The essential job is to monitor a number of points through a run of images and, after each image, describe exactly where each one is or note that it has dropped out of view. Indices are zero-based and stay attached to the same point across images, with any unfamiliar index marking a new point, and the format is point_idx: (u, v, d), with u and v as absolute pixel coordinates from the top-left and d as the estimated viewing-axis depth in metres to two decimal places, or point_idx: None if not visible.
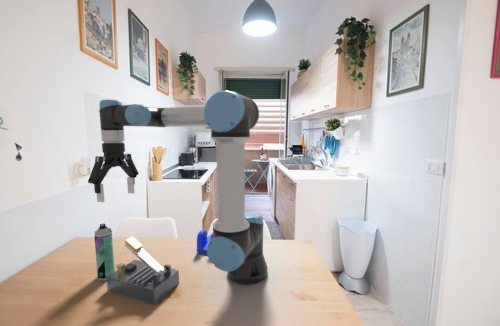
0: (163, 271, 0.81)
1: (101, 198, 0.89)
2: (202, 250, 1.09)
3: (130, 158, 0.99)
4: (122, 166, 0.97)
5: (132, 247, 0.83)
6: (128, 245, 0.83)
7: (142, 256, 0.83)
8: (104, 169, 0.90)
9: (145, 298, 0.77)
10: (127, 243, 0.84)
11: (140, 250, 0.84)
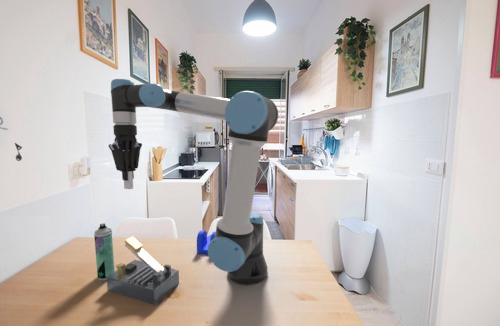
0: (163, 271, 0.81)
1: (128, 185, 0.91)
2: (202, 250, 1.08)
3: (139, 147, 0.94)
4: (128, 152, 0.91)
5: (132, 247, 0.83)
6: (128, 245, 0.83)
7: (142, 256, 0.83)
8: (123, 156, 0.88)
9: (145, 298, 0.77)
10: (127, 243, 0.84)
11: (140, 250, 0.84)
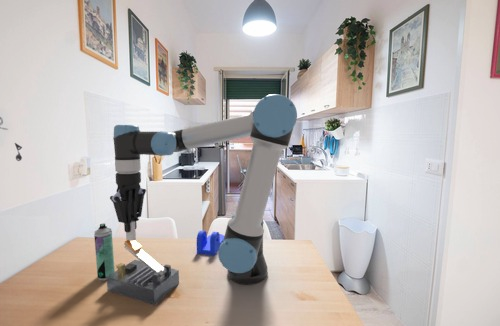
0: (163, 271, 0.81)
1: (131, 237, 0.84)
2: (202, 250, 1.08)
3: (143, 194, 0.87)
4: (131, 201, 0.84)
5: (131, 248, 0.83)
6: (127, 246, 0.84)
7: (142, 257, 0.83)
8: (126, 206, 0.81)
9: (145, 298, 0.77)
10: (126, 244, 0.84)
11: (140, 251, 0.84)
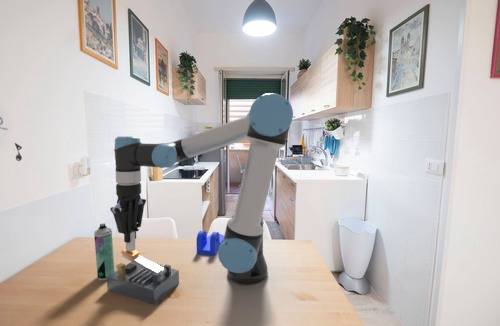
0: (162, 270, 0.81)
1: (130, 247, 0.84)
2: (202, 250, 1.08)
3: (143, 204, 0.88)
4: (131, 211, 0.84)
5: (129, 255, 0.84)
6: (125, 254, 0.84)
7: (140, 261, 0.83)
8: (126, 217, 0.82)
9: (145, 298, 0.77)
10: (124, 253, 0.85)
11: (138, 257, 0.85)
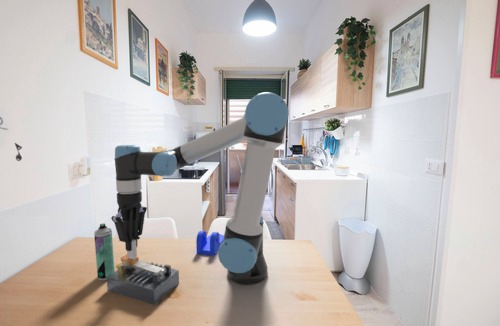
0: (162, 270, 0.81)
1: (132, 255, 0.84)
2: (202, 250, 1.08)
3: (144, 212, 0.88)
4: (132, 220, 0.84)
5: (128, 261, 0.84)
6: (124, 261, 0.85)
7: (139, 265, 0.83)
8: (127, 225, 0.82)
9: (145, 298, 0.77)
10: (123, 260, 0.85)
11: (137, 262, 0.85)
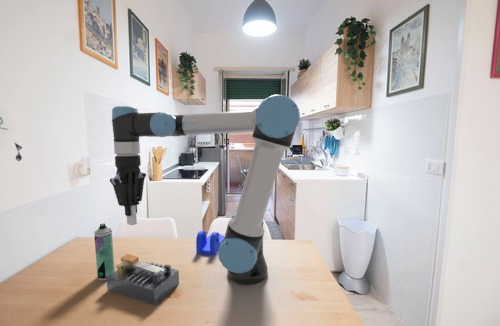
0: (162, 270, 0.81)
1: (132, 221, 0.83)
2: (202, 250, 1.08)
3: (143, 178, 0.86)
4: (131, 184, 0.83)
5: (128, 261, 0.84)
6: (124, 261, 0.85)
7: (139, 265, 0.83)
8: (126, 189, 0.80)
9: (145, 298, 0.77)
10: (123, 260, 0.85)
11: (137, 262, 0.85)
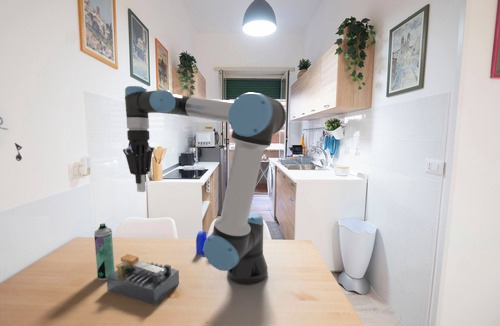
0: (162, 270, 0.81)
1: (141, 188, 0.94)
2: (201, 251, 1.08)
3: (151, 151, 0.98)
4: (141, 156, 0.94)
5: (128, 261, 0.84)
6: (124, 261, 0.85)
7: (139, 265, 0.83)
8: (136, 160, 0.92)
9: (145, 298, 0.77)
10: (123, 260, 0.85)
11: (137, 262, 0.85)
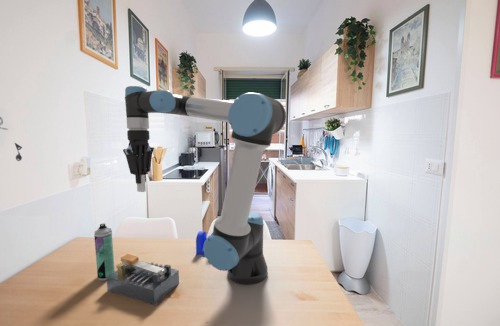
0: (162, 270, 0.81)
1: (141, 188, 0.94)
2: (201, 251, 1.08)
3: (151, 151, 0.98)
4: (141, 156, 0.94)
5: (128, 261, 0.84)
6: (124, 261, 0.85)
7: (139, 265, 0.83)
8: (137, 160, 0.92)
9: (145, 298, 0.77)
10: (123, 260, 0.85)
11: (137, 262, 0.85)
